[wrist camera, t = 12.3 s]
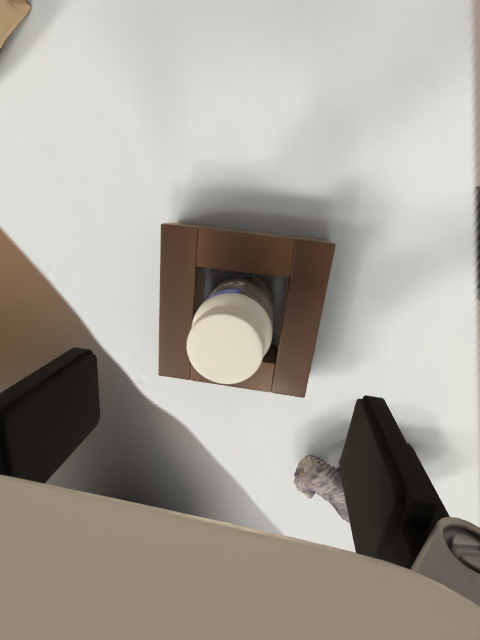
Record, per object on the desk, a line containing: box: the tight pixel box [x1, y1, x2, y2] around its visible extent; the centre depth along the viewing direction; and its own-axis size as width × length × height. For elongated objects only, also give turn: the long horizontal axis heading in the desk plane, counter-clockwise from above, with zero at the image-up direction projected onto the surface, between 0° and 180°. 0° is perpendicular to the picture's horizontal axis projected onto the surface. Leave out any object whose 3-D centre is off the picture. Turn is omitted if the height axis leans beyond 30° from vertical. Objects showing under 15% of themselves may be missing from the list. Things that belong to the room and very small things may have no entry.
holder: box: [159, 222, 336, 398], centre depth 22 cm, size 11×11×3 cm
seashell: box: [294, 455, 350, 523], centre depth 25 cm, size 5×5×10 cm
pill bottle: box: [186, 275, 274, 384], centre depth 19 cm, size 5×5×8 cm
